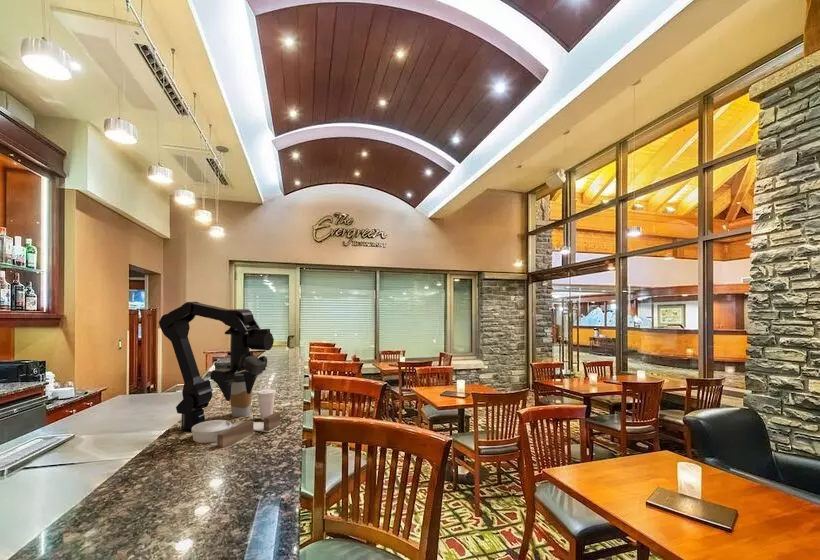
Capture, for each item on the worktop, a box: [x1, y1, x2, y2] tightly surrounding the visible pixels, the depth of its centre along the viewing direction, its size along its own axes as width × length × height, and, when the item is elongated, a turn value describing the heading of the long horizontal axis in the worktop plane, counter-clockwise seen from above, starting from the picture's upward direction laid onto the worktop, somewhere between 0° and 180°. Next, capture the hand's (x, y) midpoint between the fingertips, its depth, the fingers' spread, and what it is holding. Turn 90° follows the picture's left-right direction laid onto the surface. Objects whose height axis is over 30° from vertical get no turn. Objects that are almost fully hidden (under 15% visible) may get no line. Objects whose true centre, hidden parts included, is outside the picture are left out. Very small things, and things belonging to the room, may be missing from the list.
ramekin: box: [190, 419, 233, 444], centre depth 127 cm, size 11×11×5 cm
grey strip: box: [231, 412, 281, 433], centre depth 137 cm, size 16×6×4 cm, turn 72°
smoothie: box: [256, 378, 277, 421], centre depth 147 cm, size 6×6×14 cm
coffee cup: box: [229, 372, 253, 418], centre depth 151 cm, size 8×8×15 cm
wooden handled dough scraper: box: [216, 420, 254, 449], centre depth 126 cm, size 16×13×4 cm
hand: (238, 397), depth 132 cm, fingers open, 9 cm apart
